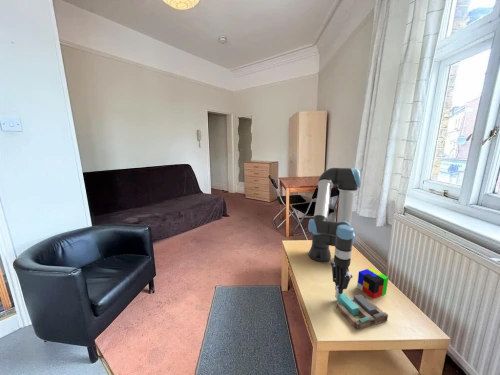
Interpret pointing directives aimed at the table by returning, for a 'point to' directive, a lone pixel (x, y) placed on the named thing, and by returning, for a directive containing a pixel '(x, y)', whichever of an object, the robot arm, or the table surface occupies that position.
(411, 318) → the table surface
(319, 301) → the table surface
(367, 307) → the grey block
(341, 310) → the comb rack
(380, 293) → the puzzle toy
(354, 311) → the teal block
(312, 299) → the table surface
